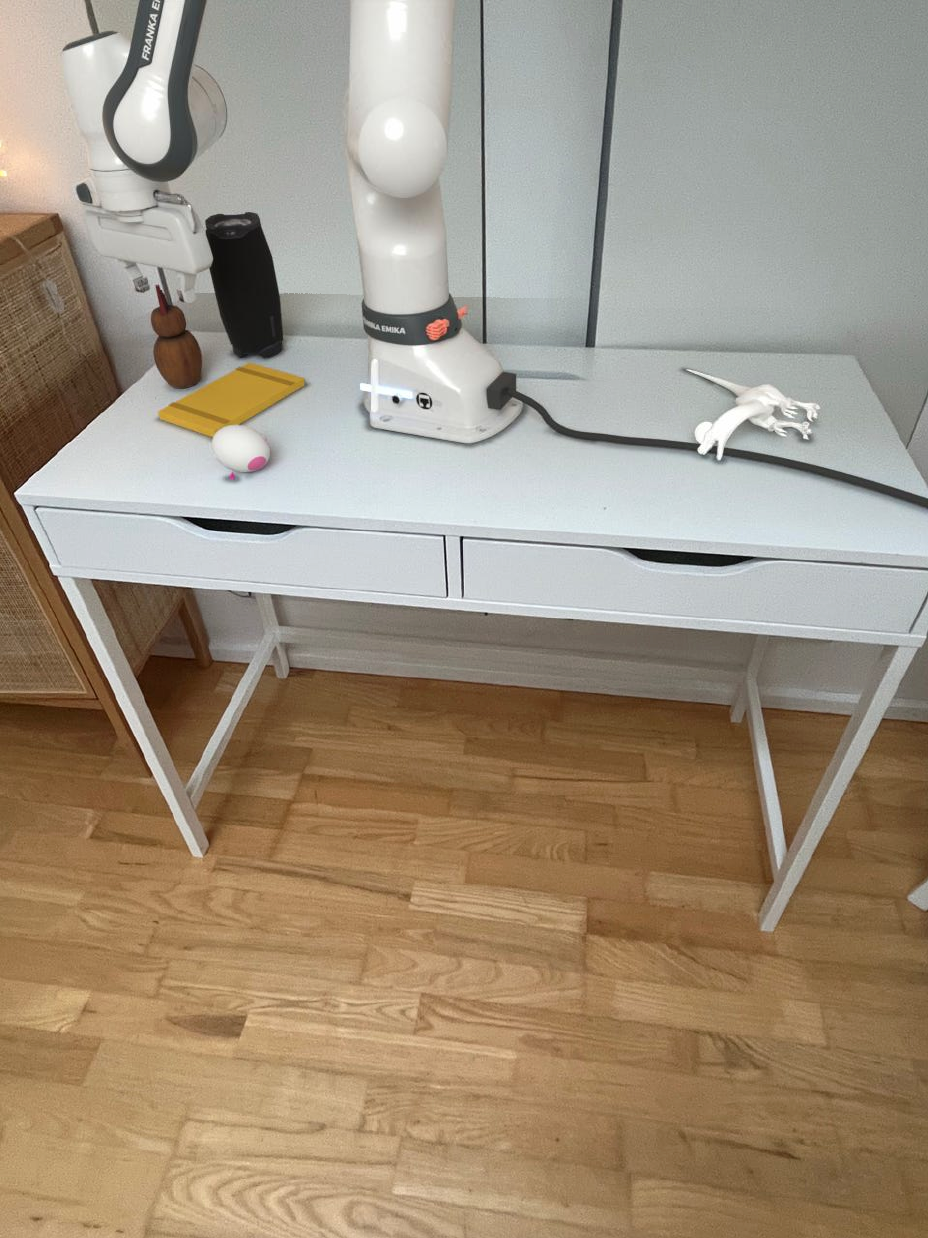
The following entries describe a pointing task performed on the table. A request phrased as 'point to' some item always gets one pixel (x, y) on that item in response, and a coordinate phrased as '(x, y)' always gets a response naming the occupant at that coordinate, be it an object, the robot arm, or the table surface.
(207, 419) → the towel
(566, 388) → the table surface
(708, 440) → the dinosaur
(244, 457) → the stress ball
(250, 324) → the portable speaker
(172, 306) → the wooden figurine
